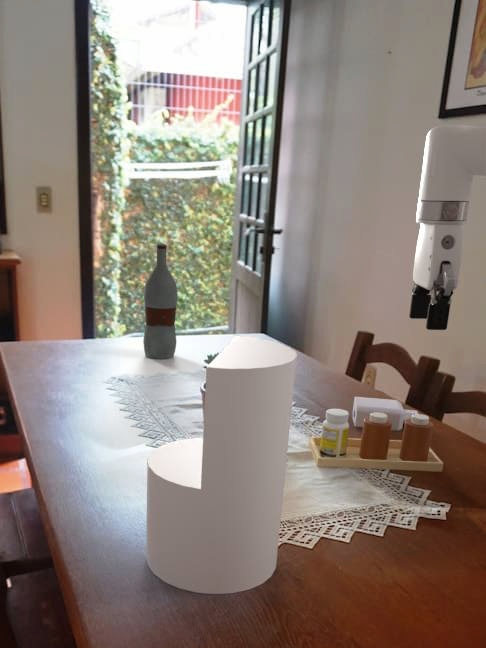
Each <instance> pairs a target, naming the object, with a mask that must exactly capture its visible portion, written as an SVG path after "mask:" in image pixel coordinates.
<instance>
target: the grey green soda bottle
mask: <svg viewBox="0 0 486 648" xmlns="http://www.w3.org/2000/svg"><path fill="white" fill-rule="evenodd" d="M167 247H168V245H167V244H165V243H158V244H156V265H155V267H154V268H153V270H152V272H151V274H150V275H149V276H148V278H147V279H146V281H145V285H144V292H143V302H144V303H143V304H144V317H145V327H144V333H143V349H144V350H143V351H144V355H145V358H146V357H147V358H149V359H154V360H169V359H173V358H174V357H175V354H176V348H177V332H176V325H175V324H176V317H177V316H176V314H177V305H178V295H179V294H178V286H177V282H176V280H175V278H174V277H173V275H172V273H171V271H170V269H169V268H168V266H167Z"/></svg>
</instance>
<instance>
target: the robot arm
mask: <svg viewBox="0 0 486 648" xmlns="http://www.w3.org/2000/svg"><path fill="white" fill-rule="evenodd" d="M474 176H478V177H479V178H482V179H485V180H486V125H483V126H472V125H467V124H444V125H437V126H434V127H432V128H431V129H429V131H428V133H427V135H426V138H425V145H424V154H423V162H422V171H421V178H420V187H419V196H418V201H417V202H418V203H417V210H416V217H415V218H416V219H415V223H416V224H420V228H419V232H418V238H417V242H416V248H415V255H414V262H413V271H412V282H413V286H412V290H411V293H412V294H411V299H410V306H409V315H408V317H409V318H410V319H411V320H412V319H413V320H414V319H415V320H417V319H418V320H426V324H425V329H426V330H428V331H445V330H447V329H448V325H449V316H450V311H451V310H450V309H451V304H452V302H453V301H452V299H453V298H452V296H453V295H454V291H456V290H457V289H458V288H459V286H460V279H461V270H462V262H463V261H462V260H463V250H464V225H467V220H468V214H469V207H470V199H471V195H472V187H473V179H474Z"/></svg>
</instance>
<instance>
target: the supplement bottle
mask: <svg viewBox="0 0 486 648" xmlns="http://www.w3.org/2000/svg"><path fill="white" fill-rule="evenodd" d="M349 414H350V413H349V411H347V410H345V409H341V408H330V409H327V410H326V412H325V420H324V421H323V422H322V429H321V436H320V437H321V446H320V455H321V456H323V457H325V458H344V457H345V456H346V450H347V442H348V438H349V434H350V422H349V416H350V415H349Z"/></svg>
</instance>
